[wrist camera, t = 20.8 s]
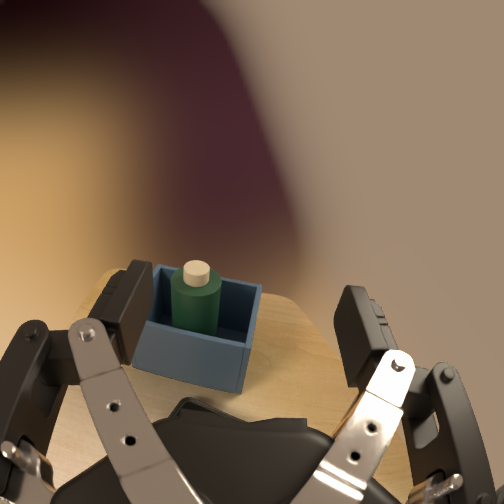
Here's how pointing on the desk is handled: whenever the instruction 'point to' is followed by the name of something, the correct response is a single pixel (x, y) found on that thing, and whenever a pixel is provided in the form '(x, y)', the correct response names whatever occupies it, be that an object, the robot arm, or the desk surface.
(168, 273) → the blue open storage bin
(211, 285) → the bottle
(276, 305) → the desk surface
